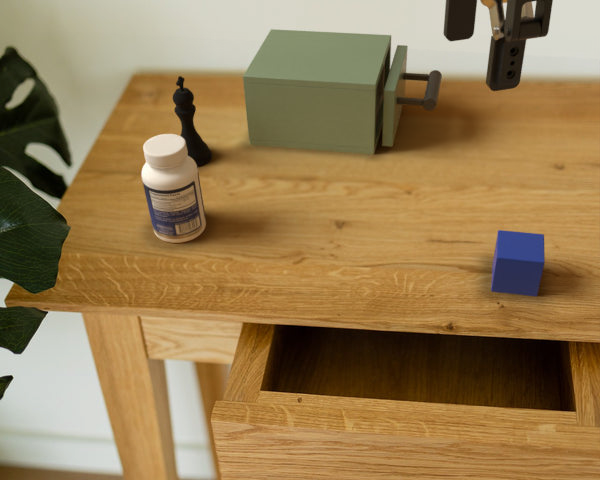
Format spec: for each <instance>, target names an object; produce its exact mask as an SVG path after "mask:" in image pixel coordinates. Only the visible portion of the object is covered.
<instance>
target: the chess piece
mask: <svg viewBox="0 0 600 480" xmlns="http://www.w3.org/2000/svg"><path fill="white" fill-rule="evenodd" d="M184 83H185V77H183V76H182V75H179V76H178V78H177V81H176V82H175V85H176V86H177V87H178V88H177V89H175V91H174V92H173V94H172V101H173V103H174V105H175V107H174V113H175V115H176V116H177V118H178V119H179V121H180V125H181V130H180V131H181V132H180V136H181V137H183V138H184V140H185V142H186V146H187V151H188V156H190V157H191V158H192V159H193V160H194V161H195V163H196V165H197V168H199V167H203V166H205V165H206V164H208V163H209V162H210V161H211V160H212V158H213V153H212V151H211V149H210V148H209V146H208V144H207V143H206V142H205V141H204V140H203V139H202V137H201V135H200V134H199V132H198V131H197V129H196V126H195V124H194V118H195V114H196V111H197V108H196V105H195V104H194V100H195V95H194V93H193V92H192V90H190V89H189V88H188V87H185V86H184V85H185V84H184Z"/></svg>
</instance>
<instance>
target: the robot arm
mask: <svg viewBox="0 0 600 480" xmlns="http://www.w3.org/2000/svg"><path fill="white" fill-rule="evenodd" d="M479 1H480V3H481V4H482V5H483V6H485V7H487V9H488V11H489V12H488V13H489V20H490V27H491V33H492V35H491V36H490V42H489V43H490V44H489V51H488V58H487V59H488V61H487V69H486V76H485V77H486V78H485V84H486V86H487V87H488V88H489V89H490V90H491V91H492V92H499V91H504V90H512V89H515V88H517V87H518V86H519V85H520V82H521V77H522V71H523V63H524V57H525V51H526V45H527V40H530V39H531V40H532V39H538V38H544V37H547V36H548V34H549V32H550V31H549V30H550V23H551V18H552V17H551V16H552V8H553V2H554V0H479ZM533 2H535V9H534V8H533ZM504 4H506V9H505V10H504ZM477 5H478V0H445V9H444V20H443V21H444V23H443V36H444V38H445V39H446V40H447V41H449V42H457V41H464V40H469V39H471V38H472V37H473V36H474V34H475V26H476V14H477ZM534 10H535V11H534Z"/></svg>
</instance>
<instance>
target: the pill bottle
mask: <svg viewBox="0 0 600 480" xmlns="http://www.w3.org/2000/svg"><path fill="white" fill-rule="evenodd" d="M142 151H143V156H144V160H145V163H144V164H143V166H142V168H141V173H140V174H141V181H142V186H143V190H144V194H145V199H146V203H147V208H148V212H149V213H148V214H149V216H150V221H151V225H152V226H151V227H152V228H153V233H154V234H155V236H156V237H157V238H158V239H159V240H161V241H164V242H166V243H173V244H178V243H179V244H181V243H185V242H189V241H192V240H194V239H196V238H198V237H199V236H200V235H201V234H202V233H203V232H204V231H205V229H206V227H207V218H206V212H205V204H204V199H203V193H202V192H203V191H202V186H201V179H200V173H199V167H197V165H196V163H195V161H194V160H193V159H192V158H191V157H190V156H188V151H187V146H186V142H185V140H184V138H183V137H181V135H179V134H175V133H162V134H157V135H154V136H152V137H149V138H148V139H147V140H146V141H145V142H144V143H143V146H142Z"/></svg>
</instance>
